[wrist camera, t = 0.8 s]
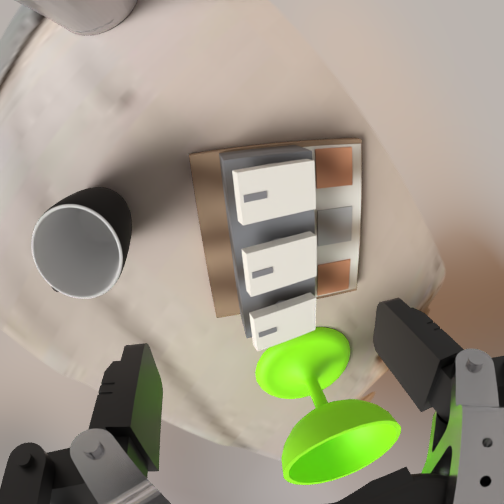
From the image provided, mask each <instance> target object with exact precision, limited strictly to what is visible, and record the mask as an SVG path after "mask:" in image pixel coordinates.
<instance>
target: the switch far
mask: <svg viewBox="0 0 504 504" xmlns="http://www.w3.org/2000/svg"><path fill="white" fill-rule="evenodd" d="M249 315H250V323H251V331H252V339H253V345H254V347H255V348H256V350H257V351H261V350H264V349H266V348H269V347H272V346H275V345H277V344H280V343H283V342H285V341H288V340H291V339H293V338H296V337H299V336H301V335H304V334H306V333H309V332H311V331H314V330H315V328H316V297H315V296H314V295H313V294H312V293H311V292H309V293H307V294H304V295H301V296H298V297H295V298H292V299H289V300H281V301H278V302H277V303H276V304H274V305H271V306H268V307H265V308H262V309H259V310H256V311H253V312H249Z"/></svg>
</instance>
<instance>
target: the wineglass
mask: <svg viewBox="0 0 504 504" xmlns="http://www.w3.org/2000/svg"><path fill="white" fill-rule="evenodd" d="M349 357H350V347H349V342H348V340H347V339H346V338H345V336H344V335H343V334H342V333H340V332H338V331H337V330H335V329H330V328H326V327H316V328H315V330H314V331H311V332H309V333H306V334H304V335H301V336H299V337H296V338H293V339H291V340H288V341H285V342H283V343H280V344H277V345H275V346H272V347H269V348H268V349H267V350H266V351H265V352H264V353H263V355H262V356H261V358H260V360H259V361H258V363H257V367H256V372H255V373H256V380H257V382H258V384H259V385H260V387H261V388H262V389H263V390H264V391H266V392H267V393H268V394H270V395H272V396H275V397H278V398H285V399H295V398H302V397H306V396H310V395H311V398H312V400H313V403H314V405H315V407H316V409H314V410H312V411H311V412H310V413H308V414H307V415H306V416H305V417H303V418H302V419H301V420H300V421H299V422H298V423H297V424H296V425H295V426H294V428H293V429H292V431H291V433H290V435H289V436H288V438H287V440H286V442H285V445H284V449H283V454H282V467H283V476H284V479H286V480H287V481H288V482H290V483H293V484H299V485H300V484H301V485H310V484H319V483H324V482H328V481H332V480H335V479H339V478H341V477H345V476H347V475H349V474H351V473H354V472H356V471H358V470H360V469H362V468H364V467H365V466H367V465H369V464H370V463H372V462H374V461H375V460H376V459H378V458H379V457H381V456H382V455H383V454H384V453H385V452H387V451H388V450H389V449H390V448H391V447H392V446H393V444H394V443H395V442H396V441H397V439H398V437H399V435H400V433H401V426H400V425H399V424H398V423H397V422H396V421H395V419H394V418H393V417H392V416H391V414H390V413H389V412H388V411H386V410H384V409H383V408H381V407H380V406H378V405H376V404H373V403H370V402H366V401H362V400H355V399H348V400H340V401H333V402H330V403H328V402H327V400H326V397H325V395H324V393H323V391H322V390H323V389H325V388H326V387H328V386H330V385H331V384H332V383H333V382H334V381H335V380H337V379H338V378H339V377H340V375H341V374H342V373H343V371H344V370H345V368H346V366H347V364H348V362H349Z"/></svg>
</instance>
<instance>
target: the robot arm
mask: <svg viewBox="0 0 504 504" xmlns="http://www.w3.org/2000/svg"><path fill="white" fill-rule="evenodd" d="M15 1H17V2H19V3H21V4H23V5H25V6H27V7H28V8H30V9H32V10H34V11H36V12H38V13H40V14H41V15H43V16H45V17H47V18H48V19H50V20H52V21H54V22H55V23H57V24H59V25H61V26H62V27H64V28H66V29H67V30H69V31H71V32H73V33H75V34H79V35H95V34H100V33H102V32H105V31H108V30H110V29H111V28H113V27H115V26H117V25H118V24H119V23H120V22H122V21H123V20H124V19H125V18H126V17H127V16H128V15H129V14H130V12H131V11H132V9H133V8H134V7H135V4H136V2H137V0H15ZM373 341H374V347H375V350H376V352H377V353H378V355H379V356H380V357H381V359H382V360H383V361H384V363H385V364H386V365H387V367H388V368H389V369H390V371H391V372H392V373H393V375H394V376H395V377H396V379H397V380H398V381H399V383H400V384H401V385H402V387H403V388H404V389H405V391H406V392H407V393H408V395H409V396H410V397H411V399H412V400H413V402H414V403H415V404H416V406H417V407H418V409H419V410H420V411H421V412H422V411H425V410H427V409H429V408H431V407H433V408H434V409H435V413H434V415H433V421H432V430H431V436H430V443H429V450H428V456H427V460H426V463H425V466H424V468H423V470H422V473H420V474H410V472H409V471H408V469H407V467H404V468H402V469H400V470H398V471H395V472H393V473H391V474H388V475H386V476H383V477H381V478H378V479H376V480H373V481H371V482H369V483H368V484H366V485H365V486H363V487H362V488H360V489H358V490H357V491H355V492H354V493H352V494H350V495H349V496H347V497H345V498H344V499H342V500H340V501H338V502H335V503H331V504H504V356H500V357H495V358H491V357H490V356H489V355H488V354H486V353H485V352H483V351H481V350H478V349H466V350H464V349H463V348H461V347H460V346H459V345H458V344H457V343H456V342H455V341H454V340H453V339H452V338H451V337H450V336H449V335H448V334H447V333H446V332H444V331H443V330H442V329H440V327H439V326H438V325H437V324H435V323H433V321H432V320H431V319H430V318H429V317H428V316H427V315H426V314H425V313H423V312H421V311H419V310H417V309H414V308H410V307H409V306H408V305H407V304H406V303H404V302H403V301H402V300H401V299H400V298H395V299H391V300H387V301H383V302H380V303H379V304H378V306H377V312H376V321H375V329H374V336H373ZM101 384H102V385H101V386H100V389H99V395H98V396H97V400H96V403H95V407H94V411H93V414H92V418H91V422H90V426H89V429H88V430H86V431H84V432H82V433H80V434H79V435H78V436H77V437H76V438H75V439H74V440H73V442H72V444H71V447H70V448H67V449H63V450H58V451H54V452H49V453H46V452H45V451H44V450H43V449H42V448H41V447H40V446H39V445H37V444H35V443H24V444H21V445H19V446H17V447H16V448H15V449H14V450H13V451H12V452H11V454H10V456H9V459H8V462H7V466H6V469H5V473H4V476H3V480H2V484H1V488H0V504H171V503H170V502H169V501H168V500H167V499H166V498H165V497H164V496H163V495H162V494H161V493H160V492H159V491H158V489H157V488H156V487H155V486H154V485H153V484H151V483H150V482H149V481H148V479H147V473H148V471H159V449H160V429H161V412H162V398H163V388H162V382H161V378H160V375H159V372H158V369H157V367H156V364H155V361H154V358H153V356H152V353H151V350H150V347H149V345H148V344H147V343H145V344H135V345H126V346H125V347H124V351H123V354H122V358H121V361H113V362H112V364H111V365H110V366H109V367H108V368H107V370H106V371H105V372H104V376H103V379H102V382H101Z"/></svg>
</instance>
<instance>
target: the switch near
mask: <svg viewBox="0 0 504 504" xmlns="http://www.w3.org/2000/svg"><path fill="white" fill-rule="evenodd" d="M232 174H233V182H234V191H235V200H236V208H237V217H238V222H240V223H241V224H242V225H247V224H252V223H256V222H260V221H264V220H269V219H273V218H277V217H282V216H286V215H291V214H295V213H299V212H304V211H308V210H313V209H316V191H315V165H314V160H310V159H301V160H294V161H287V162H280V163H269V164H266V165H261V166H255V167H249V168H243V169H238V170H232Z"/></svg>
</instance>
